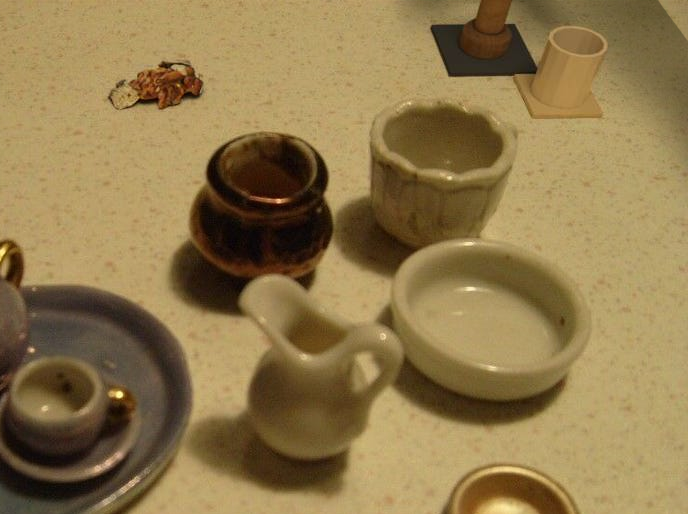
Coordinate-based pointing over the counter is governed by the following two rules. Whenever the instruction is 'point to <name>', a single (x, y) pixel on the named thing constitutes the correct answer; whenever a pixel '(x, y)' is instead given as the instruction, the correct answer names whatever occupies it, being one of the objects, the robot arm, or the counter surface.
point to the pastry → (158, 85)
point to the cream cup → (568, 67)
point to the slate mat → (466, 65)
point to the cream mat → (544, 111)
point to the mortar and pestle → (487, 31)
